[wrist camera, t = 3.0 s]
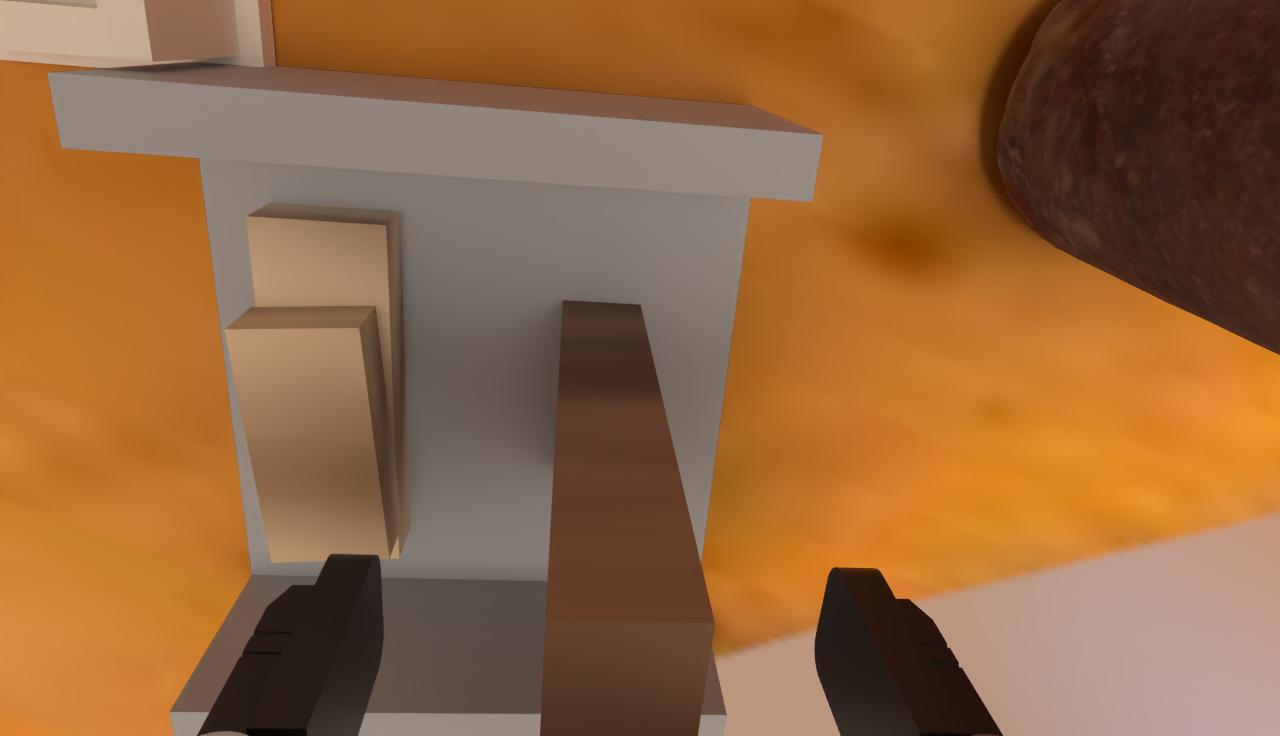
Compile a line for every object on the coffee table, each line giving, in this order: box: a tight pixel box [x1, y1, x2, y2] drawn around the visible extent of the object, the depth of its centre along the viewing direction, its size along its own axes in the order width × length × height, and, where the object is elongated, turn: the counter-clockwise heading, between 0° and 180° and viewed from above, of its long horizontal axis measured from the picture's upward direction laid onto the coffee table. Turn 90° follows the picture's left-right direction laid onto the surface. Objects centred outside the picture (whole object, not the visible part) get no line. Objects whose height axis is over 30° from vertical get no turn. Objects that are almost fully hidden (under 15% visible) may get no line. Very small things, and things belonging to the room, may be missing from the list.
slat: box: [540, 300, 715, 736], centre depth 16 cm, size 5×2×12 cm, turn 175°
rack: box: [47, 62, 823, 736], centre depth 19 cm, size 15×13×6 cm
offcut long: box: [246, 203, 410, 559], centre depth 20 cm, size 9×3×2 cm, turn 175°
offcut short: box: [224, 306, 402, 563], centre depth 19 cm, size 6×3×2 cm, turn 179°
